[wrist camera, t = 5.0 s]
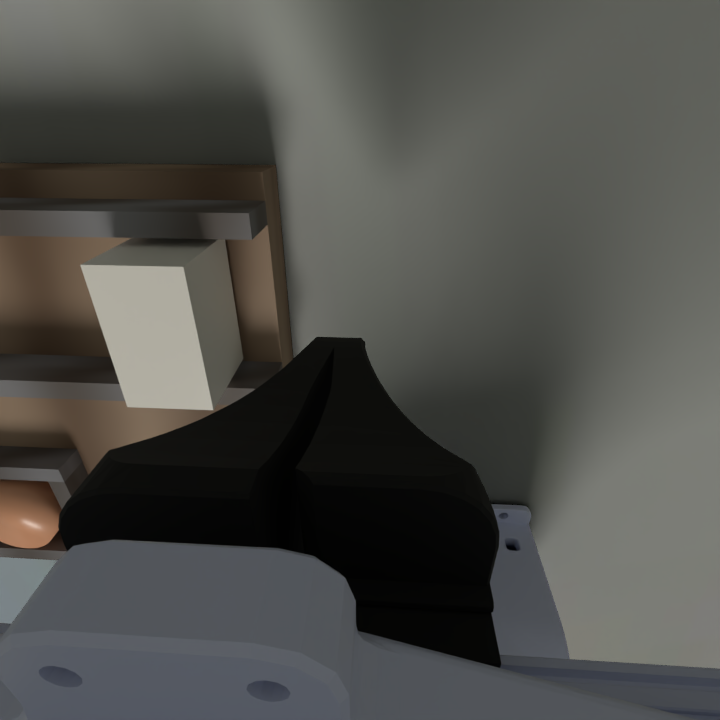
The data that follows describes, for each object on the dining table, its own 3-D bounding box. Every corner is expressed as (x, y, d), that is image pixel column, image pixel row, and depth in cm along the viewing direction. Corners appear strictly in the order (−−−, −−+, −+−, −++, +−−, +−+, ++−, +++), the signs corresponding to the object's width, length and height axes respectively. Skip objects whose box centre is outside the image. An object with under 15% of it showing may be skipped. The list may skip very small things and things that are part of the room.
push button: (56, 472, 22) (35, 495, 21) (81, 526, 24) (64, 550, 23) (-21, 469, 22) (-46, 491, 21) (11, 522, 24) (-10, 546, 23)
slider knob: (224, 234, 15) (183, 266, 12) (243, 358, 18) (213, 410, 15) (140, 233, 15) (80, 264, 12) (171, 356, 18) (127, 407, 15)
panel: (275, 164, 16) (245, 181, 13) (308, 527, 26) (295, 591, 23) (-203, 161, 17) (-351, 175, 14) (5, 512, 27) (-50, 571, 24)
